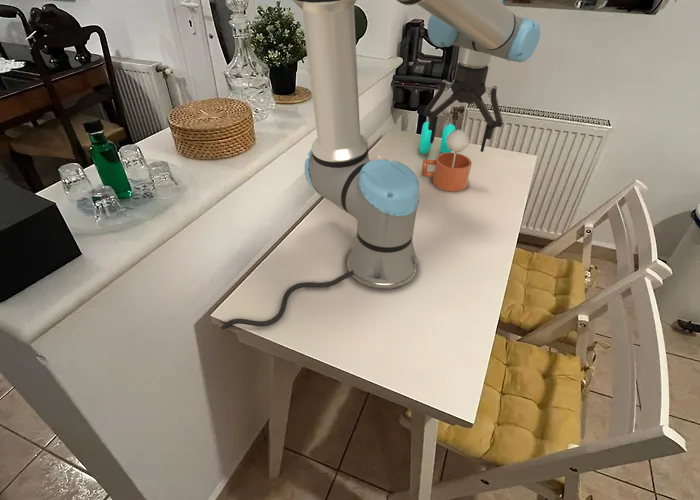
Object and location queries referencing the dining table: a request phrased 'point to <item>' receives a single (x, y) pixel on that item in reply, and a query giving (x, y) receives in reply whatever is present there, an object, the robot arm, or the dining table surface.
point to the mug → (448, 171)
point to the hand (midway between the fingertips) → (456, 145)
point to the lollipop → (457, 142)
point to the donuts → (426, 137)
